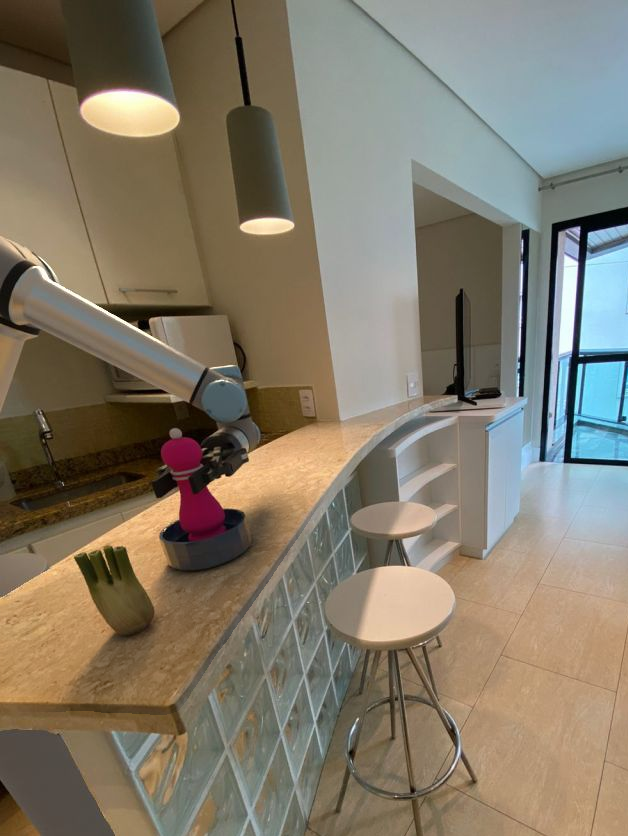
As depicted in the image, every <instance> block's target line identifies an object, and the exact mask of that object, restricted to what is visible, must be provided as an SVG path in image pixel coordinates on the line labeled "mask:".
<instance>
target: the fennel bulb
mask: <svg viewBox="0 0 628 836" xmlns="http://www.w3.org/2000/svg"><path fill="white" fill-rule="evenodd" d="M102 551H103V552H102ZM102 551H101V549H95V550H92V551H90V552H88V553H87V552H85V551H82V552H79V553H77V554H75V555H73V559H74V561H75V563H76V564H77V567H78V569H79V570H80V573H81V575H82V576H83V579H84V580H85V583H86V586H87V589H88V592H89V595H90V597H91V599H92V602H93V603H94V606H95V607H96V609H97V610H98V612H99V614H100V615H101V616H102V618H103V620H104V621H105V623H107V625H108V626H109V628H110V629H112V630H113V631H114V632H116V633H117V634H119V635H120V636H132V635H134V634H137V633H140V632H141V631H143V630H144V629H146V627H147V626H148V625H149V624H150V623H151V622H152V621H153V619H154V617H155V613H156V611H155V608H154V607H155V606H154V605H153V603H152V600H151V598H150V596H149V594H148V592H147V590H146V589H145V587H143V585H142V584H141V582H140V581H139V579H138V578H137V575H136V574H135V571H134V568H133V565H132V563H131V561H130V557H129V553H128V551H127V548H126V546H123V545H118V546H114V547H113V545H104V546H103V550H102ZM103 553H104V555H103Z"/></svg>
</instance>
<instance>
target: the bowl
mask: <svg viewBox="0 0 628 836" xmlns="http://www.w3.org/2000/svg"><path fill="white" fill-rule="evenodd" d="M223 511H224V513H225V519H224V521H223V523H222V525H224V526H225V527H226V530H227V531H226V532H223V533H220V534H218V535H215V536H213V537H209V538H205V539H202V540H197V541H189V538H188V536H189V535H190V533H188V532H186V531H185V530H183V529H182V527H181V525H180V520H179V519H177V520H175V521H173V522H171V523H170V524H168V525H166V526H165V527H164V528H163V529H162V530H161V531H160V532H159V533H158V539H159V542H160V545H161V548H162V551H163V553H164V556H165V559H166V561H167V565H169V566H170V567H171V568H172V569H175V570H179V571H199V570H206V569H211V568H214V567H218V566H220V565H224V564H225V563H228V562H230V561H232V560H234V559H235V558H237V557H238V556H240V555H242V554H243V553H245V552H246V550H247V549H248V548H249V547H251V544H252V541H253V539H252V535H251V531H250V527H249V524H248V520H247V515H246V514H245V512H244V511H242V510H240V509H237V508H229V507H227V508H223Z"/></svg>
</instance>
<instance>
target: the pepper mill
mask: <svg viewBox="0 0 628 836" xmlns="http://www.w3.org/2000/svg"><path fill="white" fill-rule="evenodd" d="M169 437H170V439H169V440H168V441H166V442H165V443H164V444H163V445H162V447H161V450H160V455H161V460H162V462H163V463H164V465H165V464H166V465H167V466H169V467H170V468H171V469H172V470H171V472H170V473H171V474H172V476H173V477H172V479H173V480H176V482H177V484H178V490H179V495H180V501H179V502H180V503H179V509H178V510H179V511H178V520H180V525H181V527H182V529H183V530H185V531H186V532H188V533H190V535H189V536H188V538H189V541H197V540H202V539H205V538H209V537H213V536H215V535H218V534H220V533H223V532H226V531H227V530H226V527H225V526H224V525H222V523H223V521H224V519H225V513H224V511H223V509H224V508H223V507H222V505H221V503H220V502H219V501H218V500H217V498H216V497H215V496H214V495H213V494H212V493H211V491H210V489H209V487H208V485H207V486H206V487H205V488H204V489H203V490H202V491H201V492H199V493H198V494H193V492H192V489H191V486H190V482H189V479H188V477H190V476H191V475H192V474H194V473H195V472H196V471H197V470H199V469H200V468H202V467H203V465H202V464H200V461H201V459H202V454H203V453H202V449H201V447H200V446H201V444H199V443H198V442H197V441H196V440H194V438H190V437H186V436H183V432H182V431H181V429H179V428H177V427H175V428H171V429H170V430H169Z"/></svg>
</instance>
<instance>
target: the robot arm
mask: <svg viewBox="0 0 628 836" xmlns="http://www.w3.org/2000/svg"><path fill="white" fill-rule="evenodd" d="M41 330H42V331H44V332H46V333H47V334H50V335H52V336H53V337H56V338H58V339H60V340H61V341H64V342H65V343H68V344H70V345H72V346H74V347H76V348H78V349H80V350H81V351H84V352H86V353H87V354H89V355H92V356H94V357H96V358H98V359H99V360H102V361H103V362H106V363H108V364H110V365H112V366H114V367H116V368H119V369H120V370H122V371H124V372H126V373H128V374H130V375H132V376H134V377H136V378H138V379H140V380H142V381H144V382H145V383H148V384H150V385H152V386H154V387H156V388H158V389H160V390H162V391H164V392H166V393H168V394H170V395H172V396H174V397H176V398H178V399H180V400H181V401H184V402H186V403H188V404H190V405H191V406H194V407H195V408H197V409H199V410H201V411H203V412H205V414H207V415H208V416H209V417H210V418H211V419H213V420H214V421H215V423H216V426H217V429H218V430H217V431H215V432H214V433H213V434H211V435H209V436H207V437H205V439H204V440H202V442H201V444H200V447H201V449H202V453H203V454H202V459H201V461H200V464H202V465H203V467H202V468H200V469H199V470H197V471H196V472H195V473H194V474H192V475H191V476H190V477H188V479H189V482H190V486H191V489H192V492H193V494H198V493H199V492H201V491H202V490H203V489H204V488H205V487H206V486H207V487H208V486H209V485H210V484H211V483H212V482H214V481H215V480H219V479H221V478H222V477H223V476H224V475H225V477H226V478H230V477H232V476H233V475H235V473H236V472H238V470H239V469H240V468H241V467H242V466H243V465H244V464H246V463H249V462H250V458H249V455H250V453H252V452H253V451H254V450H255V449H256V448H257V446H258V444H259V442H260V440H261V431H260V428H259V427H258V425H257V424H256V423H255V422H253V418H252V413H251V412H250V407H249V402H248V397H247V393H246V388H245V384H244V377H243V375H242V373H241V372H242V371H241V370H240V367H239V366H237V365H235V364H234V365H233V364H232V365H224V366H223V365H222V366H214V367H208V366H206V365H204V364H203V363H201V362H199V361H197V360H195V359H194V358H192V357H190V356H188V355H186V354H185V353H183V352H181V351H180V350H177V349H176V348H174V347H172V346H171V345H168V344H166V343H164V342H163V341H161V340H159V339H158V338H155V337H154V336H152V335H150V334H148V333H147V332H145V331H143V330H141V329H139V328H138V327H136V326H134V325H132V324H131V323H129V322H127V321H125V320H123V319H121V318H120V317H118V316H116V315H114V314H112V313H110V312H108V311H107V310H105V309H103V308H102V307H99V306H98V305H96V304H95V303H92V302H90V301H89V300H88V299H85V298H83V297H81V296H80V295H78V294H76V293H74V292H72V291H71V290H69V289H66V288H65V287H64V286H63V285H62V286H61V285H60V281H59V278H58V277H57V275H56V273H55V272H54V270H53V269H52V268H51V266H50V265H49V264H48V263H47V262H46V260H44V259H42V258H41V257H40V256H39V255H37V253H35V252H34V251H32V250H31V249H29V248H27V247H26V246H24V245H22V244H20V243H18V242H16V241H13V240H10V239H8V238H6V237H3V236H2V235H0V414H1V412H2V409H3V406H4V404H5V402H6V398H7V395H8V392H9V389H10V386H11V384H12V380H13V377H14V374H15V371H16V369H17V366H18V362H19V359H20V356H21V354H22V351H23V348H24V346H25V342H26V341H27V340H31V339H34V338H38V337H39V335H40V333H41ZM171 470H172V469H171V468H170V467H169V466H167V465H166V464H165V463H164V465H162V466H160V467H159V468H157V469H156V473H157V477H156V478H154V479H152V480H151V481H150V484H151V486H152V490H153V492H154V495H155V499H162V498H163V497H165V496H166V495H167V494H169V493H170V492H171V491H172V490H174V489H176V488H179V486H178V484H177V482H176V480H173V479H172V477H173V476H172V474H171V473H170V472H171Z"/></svg>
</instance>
